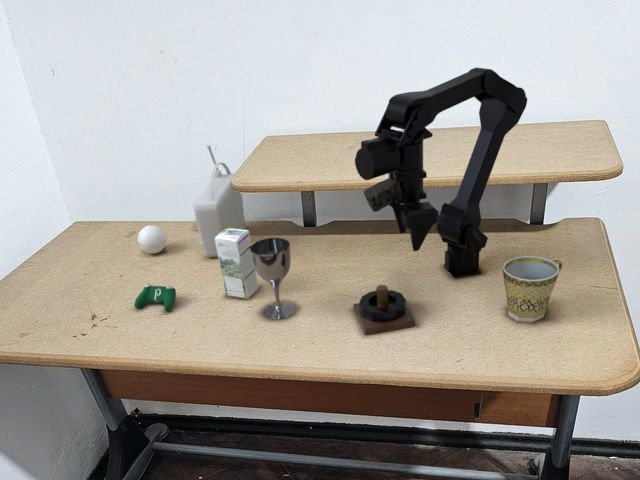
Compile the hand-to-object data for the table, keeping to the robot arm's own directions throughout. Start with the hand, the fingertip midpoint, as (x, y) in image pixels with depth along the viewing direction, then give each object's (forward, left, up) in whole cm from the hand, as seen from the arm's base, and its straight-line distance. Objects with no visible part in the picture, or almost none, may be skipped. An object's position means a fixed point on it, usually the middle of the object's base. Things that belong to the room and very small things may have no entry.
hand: (409, 241), depth 128 cm
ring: (+8, +7, -10) cm, 15 cm away
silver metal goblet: (+28, -2, -12) cm, 31 cm away
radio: (+37, -42, -12) cm, 57 cm away
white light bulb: (+57, -44, -12) cm, 73 cm away
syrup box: (+35, -13, -12) cm, 39 cm away
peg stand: (+8, +8, -12) cm, 16 cm away
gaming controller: (+54, -14, -12) cm, 57 cm away
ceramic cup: (-20, +15, -12) cm, 28 cm away
